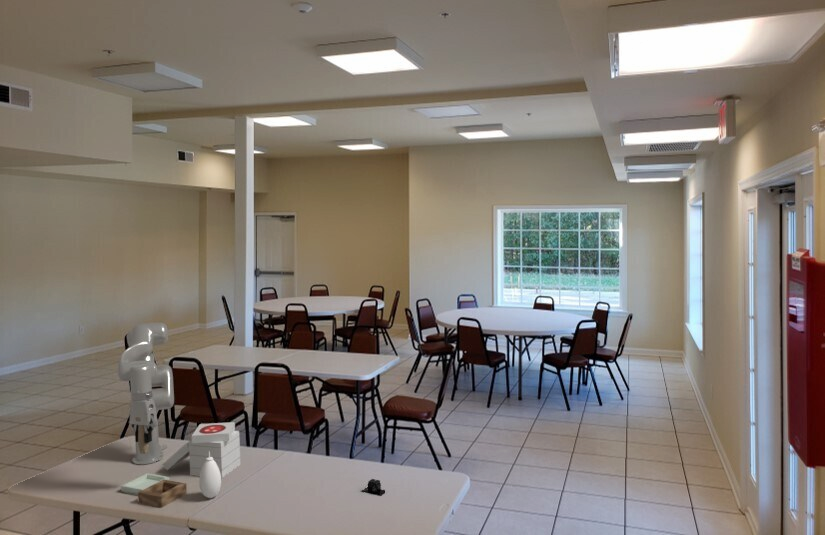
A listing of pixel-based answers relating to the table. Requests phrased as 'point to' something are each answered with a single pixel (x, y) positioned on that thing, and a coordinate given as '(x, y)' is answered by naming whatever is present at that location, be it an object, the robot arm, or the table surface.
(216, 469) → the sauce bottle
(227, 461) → the pizza box stack
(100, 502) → the table surface
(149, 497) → the small wooden box
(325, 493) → the table surface
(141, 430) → the handle
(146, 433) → the robot arm
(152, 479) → the tray
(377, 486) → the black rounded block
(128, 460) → the table surface
